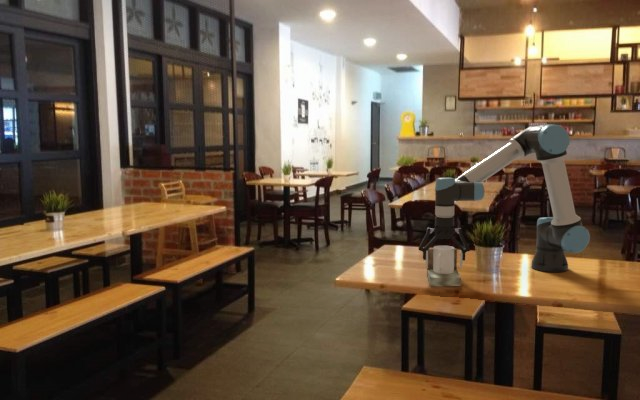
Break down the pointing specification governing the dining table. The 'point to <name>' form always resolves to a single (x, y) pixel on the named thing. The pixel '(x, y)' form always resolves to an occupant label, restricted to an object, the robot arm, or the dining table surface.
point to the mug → (443, 259)
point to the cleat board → (442, 279)
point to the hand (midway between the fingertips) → (443, 268)
